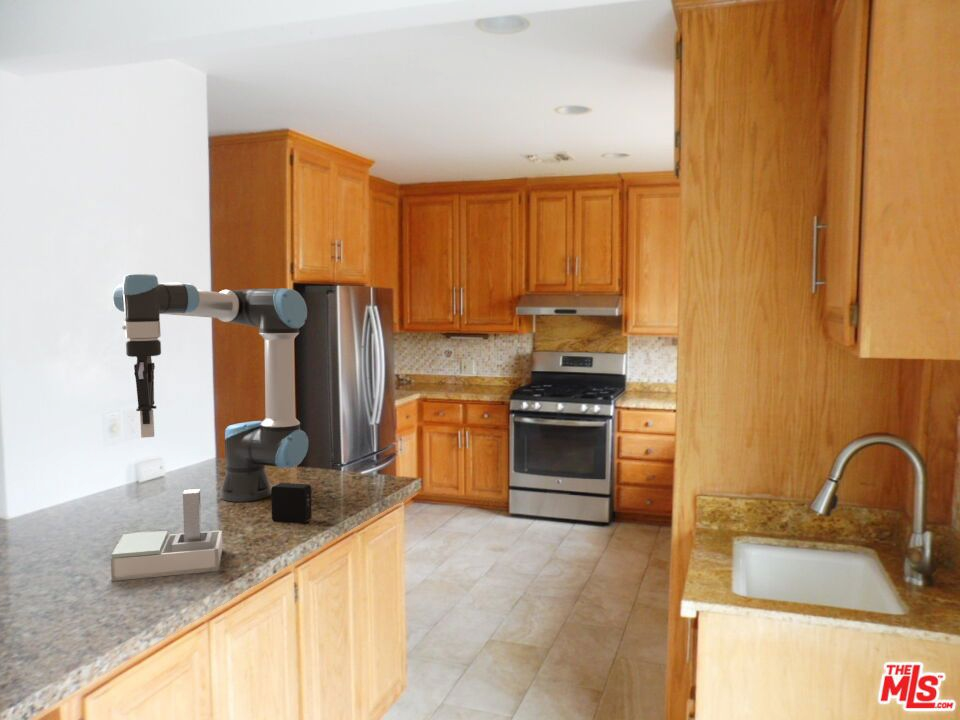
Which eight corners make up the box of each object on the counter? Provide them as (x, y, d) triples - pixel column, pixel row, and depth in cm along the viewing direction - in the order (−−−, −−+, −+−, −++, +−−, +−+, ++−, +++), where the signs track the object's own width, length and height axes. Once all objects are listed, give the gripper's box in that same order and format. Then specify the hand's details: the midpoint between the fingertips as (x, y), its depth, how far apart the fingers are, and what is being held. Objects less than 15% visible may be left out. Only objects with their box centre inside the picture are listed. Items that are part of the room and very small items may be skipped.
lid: (124, 536, 169) (124, 532, 169) (168, 533, 172) (168, 529, 171) (111, 558, 155) (111, 553, 155) (159, 554, 157) (159, 549, 157)
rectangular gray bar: (186, 556, 168) (184, 489, 166) (201, 555, 169) (200, 488, 167) (184, 561, 164) (182, 493, 163) (200, 560, 165) (198, 492, 164)
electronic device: (305, 524, 196) (304, 488, 195) (271, 521, 198) (270, 486, 197) (311, 519, 200) (311, 484, 199) (278, 517, 202) (278, 482, 201)
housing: (124, 558, 169) (123, 534, 168) (222, 550, 175) (222, 526, 174) (111, 581, 155) (110, 554, 155) (218, 570, 162) (218, 545, 161)
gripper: (130, 337, 175) (135, 432, 177) (120, 341, 163) (125, 443, 165) (163, 337, 177) (168, 430, 179) (156, 340, 165) (161, 441, 167)
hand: (147, 436), depth 172 cm, fingers closed
